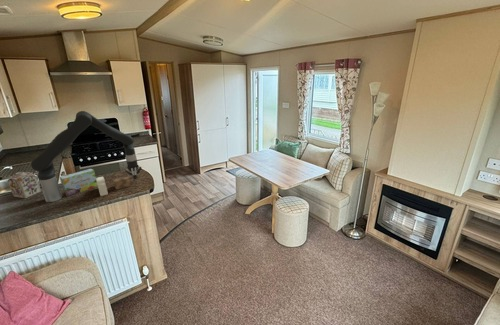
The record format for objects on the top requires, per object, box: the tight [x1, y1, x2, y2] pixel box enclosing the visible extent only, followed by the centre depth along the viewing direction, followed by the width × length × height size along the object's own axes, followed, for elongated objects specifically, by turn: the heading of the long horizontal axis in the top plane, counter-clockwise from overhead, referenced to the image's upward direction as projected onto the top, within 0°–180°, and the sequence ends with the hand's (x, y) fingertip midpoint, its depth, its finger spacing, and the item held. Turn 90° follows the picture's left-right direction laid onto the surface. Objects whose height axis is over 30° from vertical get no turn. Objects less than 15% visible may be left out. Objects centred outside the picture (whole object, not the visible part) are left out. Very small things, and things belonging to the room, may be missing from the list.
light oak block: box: [112, 176, 133, 190], centre depth 192 cm, size 12×8×6 cm, turn 124°
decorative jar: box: [7, 171, 42, 199], centre depth 176 cm, size 12×12×18 cm
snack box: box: [59, 168, 98, 197], centre depth 182 cm, size 21×6×15 cm, turn 143°
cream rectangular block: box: [96, 176, 109, 197], centre depth 182 cm, size 5×16×9 cm, turn 35°
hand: (135, 178), depth 196 cm, fingers closed
